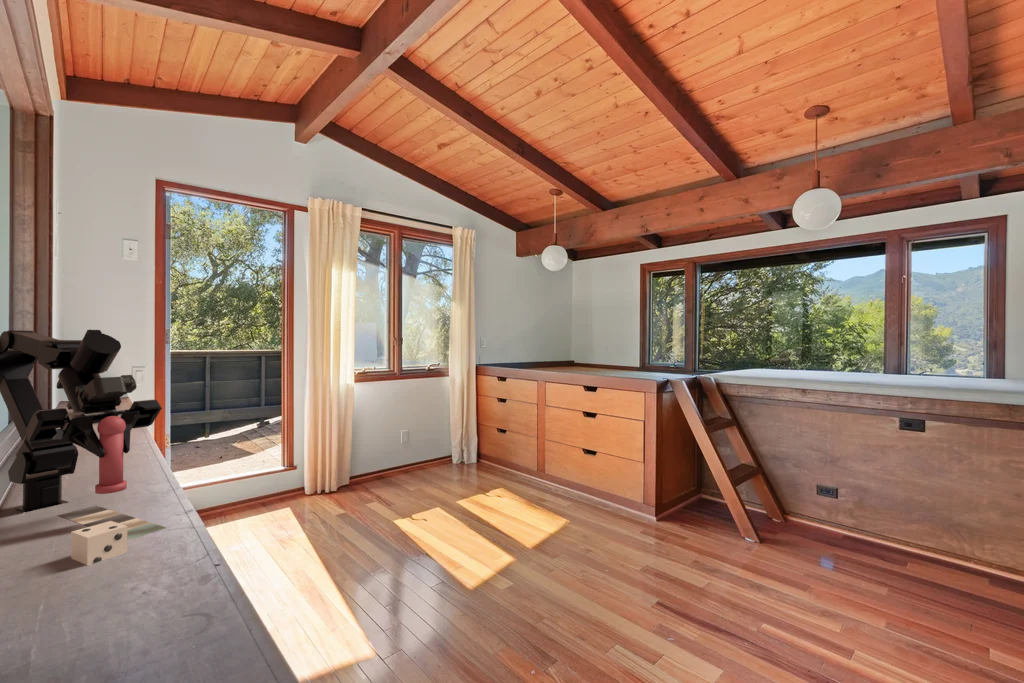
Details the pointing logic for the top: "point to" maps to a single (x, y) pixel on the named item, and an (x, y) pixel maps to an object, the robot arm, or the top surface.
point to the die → (98, 542)
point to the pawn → (111, 455)
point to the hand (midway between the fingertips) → (115, 453)
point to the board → (103, 515)
